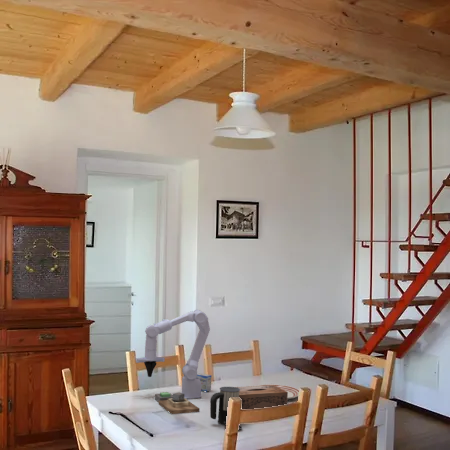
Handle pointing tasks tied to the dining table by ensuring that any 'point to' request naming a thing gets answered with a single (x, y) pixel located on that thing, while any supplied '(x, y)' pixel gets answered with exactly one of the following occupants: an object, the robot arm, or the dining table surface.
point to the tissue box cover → (262, 396)
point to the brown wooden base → (178, 406)
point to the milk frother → (222, 403)
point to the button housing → (159, 398)
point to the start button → (165, 394)
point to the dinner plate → (291, 390)
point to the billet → (178, 397)
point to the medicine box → (205, 381)
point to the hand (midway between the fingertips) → (149, 376)
